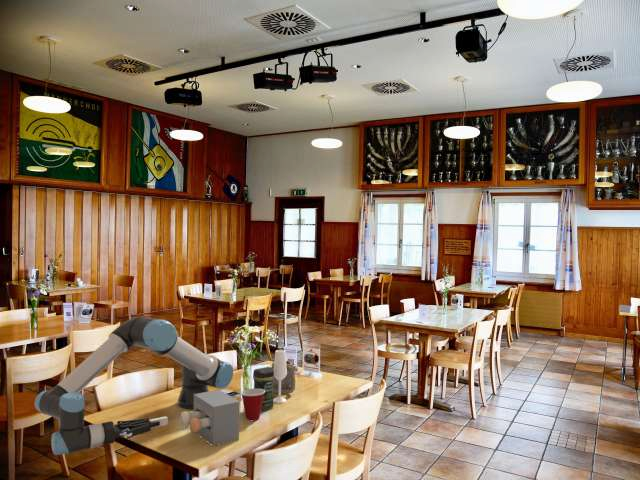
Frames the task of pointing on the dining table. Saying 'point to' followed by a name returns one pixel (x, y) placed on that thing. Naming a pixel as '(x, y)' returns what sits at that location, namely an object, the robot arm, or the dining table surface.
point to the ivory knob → (189, 417)
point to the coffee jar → (265, 385)
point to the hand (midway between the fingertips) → (166, 420)
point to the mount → (218, 416)
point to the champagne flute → (280, 372)
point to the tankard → (286, 379)
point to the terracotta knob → (199, 424)
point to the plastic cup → (252, 403)
